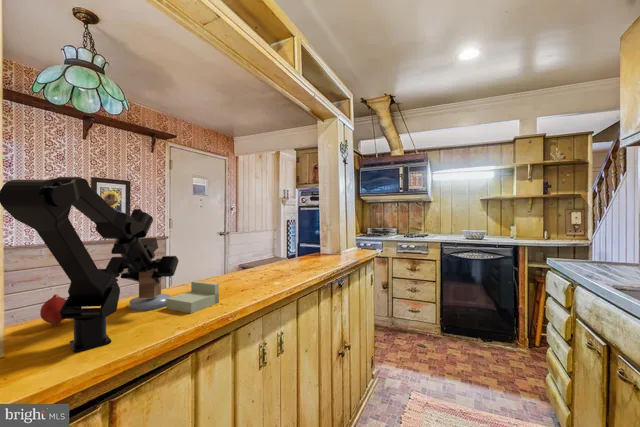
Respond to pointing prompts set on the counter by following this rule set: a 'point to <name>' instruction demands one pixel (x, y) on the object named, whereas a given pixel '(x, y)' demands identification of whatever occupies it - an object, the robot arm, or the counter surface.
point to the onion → (52, 310)
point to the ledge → (195, 297)
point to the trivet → (148, 303)
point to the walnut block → (148, 285)
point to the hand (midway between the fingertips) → (152, 281)
